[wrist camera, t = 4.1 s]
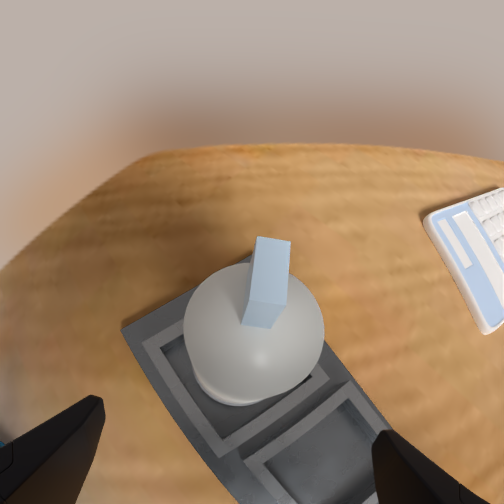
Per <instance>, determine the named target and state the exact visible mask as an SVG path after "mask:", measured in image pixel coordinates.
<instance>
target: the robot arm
mask: <svg viewBox="0 0 504 504" xmlns="http://www.w3.org/2000/svg"><path fill="white" fill-rule="evenodd" d="M104 423H105V410H104V403H103V399H102V398H101V397H97V396H94V395H89V396H87V397H85V398H84V399H82V400H80V401H79V402H77V403H75V404H74V405H72V406H70V407H69V408H67V409H66V410H64V411H62V412H61V413H59V414H57V415H56V416H54V417H52V418H51V419H49V420H47V421H46V422H44V423H42V424H40V425H39V426H37V427H35V428H34V429H32V430H30V431H29V432H27V433H25V434H23V435H22V436H20V437H18V438H17V439H15V440H13V442H10V443H8V444H6V445H4V446H2V447H1V448H0V504H75V503H76V500H77V498H78V495H79V493H80V491H81V488H82V486H83V483H84V481H85V479H86V476H87V474H88V471H89V469H90V467H91V464H92V462H93V459H94V456H95V453H96V450H97V446H98V443H99V439H100V436H101V432H102V429H103V426H104ZM371 455H372V463H373V472H374V482H375V488H376V493H377V497H378V502H379V504H490V503H488V502H487V501H485V500H483V499H482V498H480V497H479V496H477V495H476V494H474V493H473V492H471V491H470V490H469V489H467V488H466V487H465V486H463V485H462V484H461V483H459V482H458V481H457V480H455V479H454V478H453V477H452V476H450V475H449V474H448V473H446V472H445V471H444V470H443V469H441V468H440V467H439V466H438V465H436V464H435V463H434V462H432V461H431V460H430V459H429V458H428V457H426V456H425V455H424V454H423V453H421V452H420V451H419V450H418V449H416V448H415V447H414V446H413V445H411V444H410V443H409V442H408V441H407V440H405V439H404V438H403V437H402V436H400V435H399V434H398V433H397V432H396V431H394V430H393V429H386V430H381V431H380V433H379V434H378V436H377V438H376V439H375V441H374V442H373V444H372V447H371Z"/></svg>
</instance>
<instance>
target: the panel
mask: <svg viewBox="0 0 504 504" xmlns="http://www.w3.org/2000/svg"><path fill="white" fill-rule="evenodd" d="M251 258H252V255H250V256H248V257H247V258H245V259H243V260H241V261H240V262H238V263H236V264H240V263H250V261H251ZM198 287H199V285H198V286H196V287H194V288H193V289H191V290H189V291H188V292H186V293H184V294H182V295H181V296H179V297H177V298H175V299H174V300H172V301H170V302H168V303H167V304H165V305H163V306H161V307H160V308H158V309H156V310H154V311H153V312H151V313H149V314H147V315H146V316H144V317H142V318H140V319H139V320H137V321H135V322H133V323H132V324H130V325H128V326H126V327H125V328H123V329H121V332H122V334H123V336H124V338H125V340H126V342H127V343H128V345H129V347H130V349H131V351H132V352H133V354H134V356H135V358H136V359H137V361H138V363H139V365H140V366H141V368H142V370H143V371H144V373H145V375H146V376H147V378H148V380H149V381H150V383H151V385H152V386H153V388H154V389H155V391H156V393H157V394H158V396H159V397H160V399H161V400H162V402H163V404H164V405H165V407H166V408H167V410H168V411H169V413H170V414H171V416H172V417H173V419H174V420H175V422H176V423H177V424H178V426H179V427H180V429H181V430H182V432H183V433H184V434H185V436H186V437H187V439H188V440H189V441H190V443H191V444H192V446H193V447H194V448H195V450H196V451H197V452H198V454H199V455H200V456H201V458H202V459H203V460H204V461H205V463H206V464H207V465H208V467H209V468H210V469H211V470H212V472H213V473H214V474H215V475H216V477H217V478H218V479H219V480H220V482H221V483H222V484H223V485H224V486H225V488H226V489H227V490H228V491H229V492H230V494H231V495H232V496H233V497H234V498H235V499H236V500H237V502H238V503H239V504H379V502H378V497H377V493H376V488H375V482H374V472H373V463H372V455H371V447H372V444H373V442H374V441H375V439H376V438H377V436H378V434H379V433H380V431H381V430H386V429H392V427H391V426H390V425H389V423H388V422H387V421H386V420H385V418H384V417H383V416H382V414H381V413H380V412H379V410H378V409H377V408H376V407H375V405H374V404H373V403H372V401H371V400H370V399H369V397H368V396H367V395H366V394H365V392H364V391H363V390H362V388H361V387H360V386H359V385H358V383H357V382H356V381H355V379H354V378H353V377H352V375H351V374H350V373H349V372H348V370H347V369H346V368H345V366H344V365H343V364H342V362H341V361H340V360H339V359H338V357H337V356H336V355H335V353H334V352H333V351H332V350H331V348H330V347H329V346H328V344H327V343H326V342H325V340H324V343H323V347H322V351H321V354H320V357H319V359H318V361H317V363H316V365H315V367H314V368H313V370H312V371H311V372H310V373H309V375H308V376H307V377H306V378H305V379H304V380H303V381H302V382H300V383H299V384H298V385H296V386H295V387H294V388H292V389H290V390H288V391H286V392H284V393H281V394H278V395H275V396H272V397H269V398H265V399H264V400H262V401H260V402H257V403H254V404H251V405H246V406H230V405H225V404H222V403H220V402H218V401H215V400H214V399H212V398H211V397H209V396H208V395H207V394H206V393H205V392H204V391H203V390H202V389H201V387H200V386H199V384H198V382H197V380H196V378H195V376H194V373H193V370H192V364H191V360H190V357H189V354H188V351H187V348H186V344H185V340H184V331H183V324H184V316H185V312H186V308H187V305H188V303H189V301H190V298H191V297H192V295H193V293H194V292H195V290H196V289H197V288H198Z"/></svg>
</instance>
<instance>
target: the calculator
mask: <svg viewBox="0 0 504 504" xmlns="http://www.w3.org/2000/svg"><path fill="white" fill-rule="evenodd" d="M423 227H424V229H425V231H426V233H427V234H428V236H429V238H430V239H431V241H432V243H433V244H434V246H435V248H436V249H437V251H438V253H439V255H440V256H441V258H442V260H443V261H444V263H445V265H446V267H447V269H448V270H449V272H450V274H451V276H452V278H453V279H454V281H455V283H456V285H457V287H458V289H459V291H460V293H461V295H462V297H463V299H464V300H465V302H466V304H467V306H468V309H469V311H470V313H471V315H472V317H473V319H474V321H475V323H476V325H477V327H478V329H479V330H480V332H481V333H482V334H483V335H488V334H490V333H492V332H494V331H495V330H496V329H497V328H498V327H500V326H501V325H502V324H503V323H504V188H503V187H502V188H499V189H496V190H493V191H490V192H487V193H485V194H482V195H479V196H476V197H473V198H471V199H468V200H465V201H462V202H459V203H456V204H453V205H451V206H448V207H445V208H442V209H439V210H436V211H434V212H431V213H430V214H428V215H427V216H426V217H425V218H424V220H423Z"/></svg>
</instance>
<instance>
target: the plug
mask: <svg viewBox="0 0 504 504" xmlns="http://www.w3.org/2000/svg"><path fill="white" fill-rule="evenodd" d="M290 243H291V242H290V241H284V240H278V239H272V238H266V237H260V236H257V238H256V242H255V246H254V250H253V254H252V258H251V261H250V263H240V264H235V265H231V266H228V267H225V268H223V269H221V270H219V271H217V272H215V273H213V274H212V275H211V276H209V277H208V278H207V279H205V280H204V281H203V282H202V283H201V284H200V285H199V287H198V288H197V289H196V290H195V292H194V293H193V295H192V297H191V298H190V301H189V303H188V305H187V308H186V312H185V316H184V324H183V331H184V340H185V344H186V348H187V351H188V354H189V357H190V360H191V364H192V370H193V373H194V376H195V378H196V380H197V382H198V384H199V386H200V387H201V389H202V390H203V391H204V392H205V393H206V394H207V395H208V396H209V397H211V398H212V399H214V400H215V401H218V402H220V403H222V404H225V405H230V406H246V405H251V404H254V403H257V402H260V401H262V400H264V399H265V398H269V397H272V396H275V395H278V394H281V393H284V392H286V391H288V390H290V389H292V388H294V387H295V386H296V385H298V384H299V383H300V382H302V381H303V380H304V379H305V378H306V377H307V376H308V375H309V373H310V372H311V371H312V370H313V368H314V367H315V365H316V363H317V361H318V359H319V357H320V354H321V351H322V347H323V343H324V323H323V317H322V314H321V310H320V308H319V306H318V303H317V301H316V300H315V298H314V296H313V295H312V293H311V292H310V291H309V289H308V288H307V287H306V286H305V285H304V284H303V283H302V282H301V281H300V280H299V279H297V278H296V277H295V276H293V275H292V274H290V273H289V259H290Z"/></svg>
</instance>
